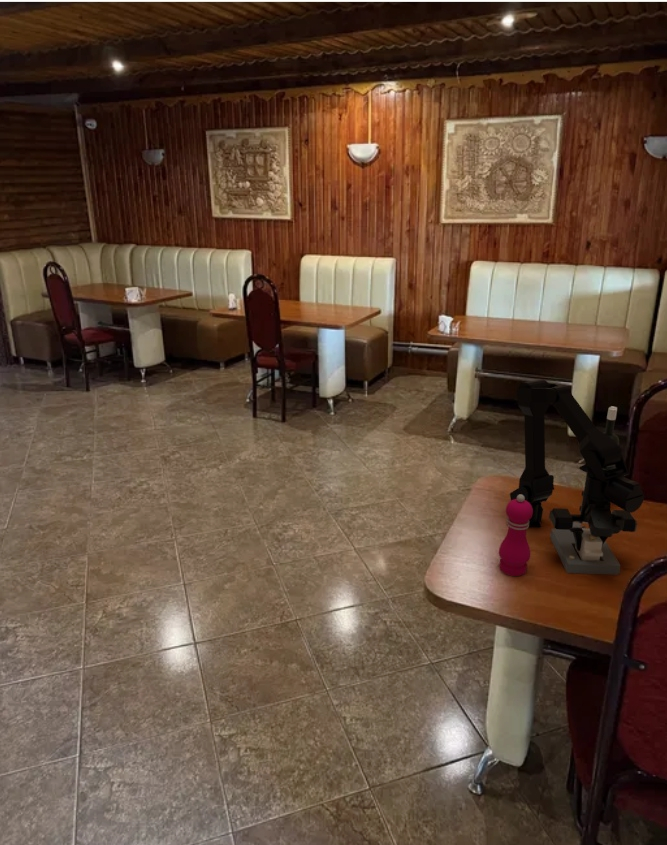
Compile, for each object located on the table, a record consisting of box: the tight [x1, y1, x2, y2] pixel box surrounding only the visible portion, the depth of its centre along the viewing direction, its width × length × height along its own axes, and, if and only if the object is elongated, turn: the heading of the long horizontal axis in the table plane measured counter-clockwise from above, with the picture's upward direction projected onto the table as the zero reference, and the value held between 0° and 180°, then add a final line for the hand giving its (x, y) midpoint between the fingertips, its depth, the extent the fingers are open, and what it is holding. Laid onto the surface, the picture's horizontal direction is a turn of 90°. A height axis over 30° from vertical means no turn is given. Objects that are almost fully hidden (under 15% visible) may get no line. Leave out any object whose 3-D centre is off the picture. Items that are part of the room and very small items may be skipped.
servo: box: [575, 525, 603, 561], centre depth 153 cm, size 4×9×6 cm, turn 176°
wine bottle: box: [602, 405, 620, 471], centre depth 175 cm, size 6×6×30 cm
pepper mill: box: [498, 494, 533, 577], centre depth 148 cm, size 7×7×20 cm
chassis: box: [550, 528, 621, 576], centre depth 156 cm, size 12×16×3 cm
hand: (587, 550), depth 153 cm, fingers closed on servo, 4 cm apart
